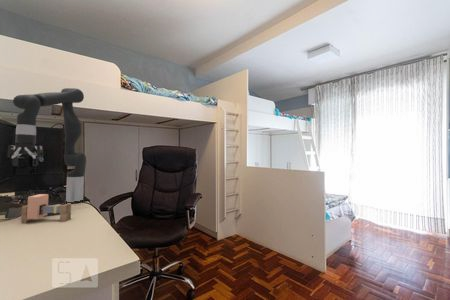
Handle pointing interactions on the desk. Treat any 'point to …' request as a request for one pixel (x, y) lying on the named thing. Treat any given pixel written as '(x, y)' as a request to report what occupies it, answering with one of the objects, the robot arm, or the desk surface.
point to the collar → (36, 206)
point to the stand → (64, 213)
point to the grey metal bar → (49, 209)
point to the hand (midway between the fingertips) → (25, 166)
